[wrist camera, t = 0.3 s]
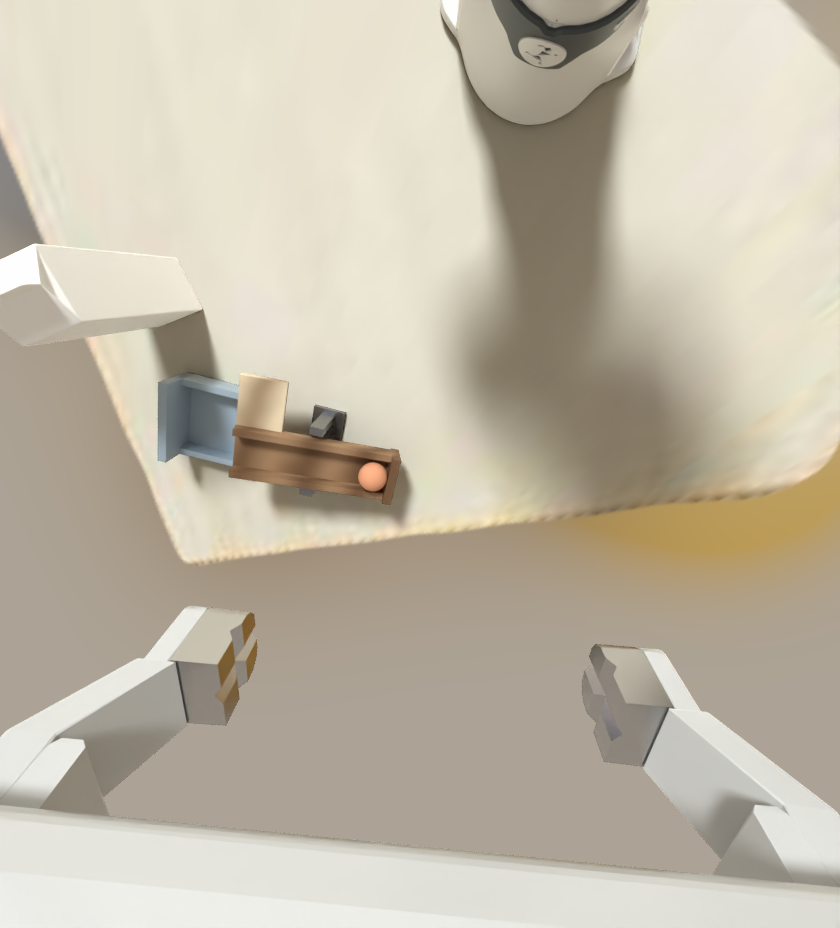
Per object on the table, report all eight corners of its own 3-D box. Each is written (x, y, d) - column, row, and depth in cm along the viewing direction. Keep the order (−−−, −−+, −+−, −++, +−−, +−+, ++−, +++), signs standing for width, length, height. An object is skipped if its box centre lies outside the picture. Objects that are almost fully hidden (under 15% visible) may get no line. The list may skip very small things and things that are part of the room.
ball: (361, 455, 52) (360, 467, 49) (389, 460, 53) (390, 473, 50) (356, 480, 54) (354, 493, 51) (383, 485, 54) (384, 498, 51)
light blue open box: (187, 372, 54) (158, 382, 49) (257, 389, 55) (236, 401, 49) (184, 443, 58) (157, 460, 53) (250, 459, 59) (230, 478, 53)
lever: (408, 403, 52) (412, 415, 48) (387, 489, 57) (389, 506, 53) (244, 370, 48) (234, 380, 44) (235, 465, 53) (226, 482, 49)
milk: (204, 309, 51) (51, 327, 31) (161, 326, 52) (-14, 355, 32) (176, 256, 49) (-6, 238, 29) (132, 275, 50) (-74, 271, 30)
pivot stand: (346, 412, 55) (334, 428, 49) (333, 480, 59) (321, 502, 53) (315, 404, 55) (300, 419, 49) (304, 473, 59) (289, 494, 53)
